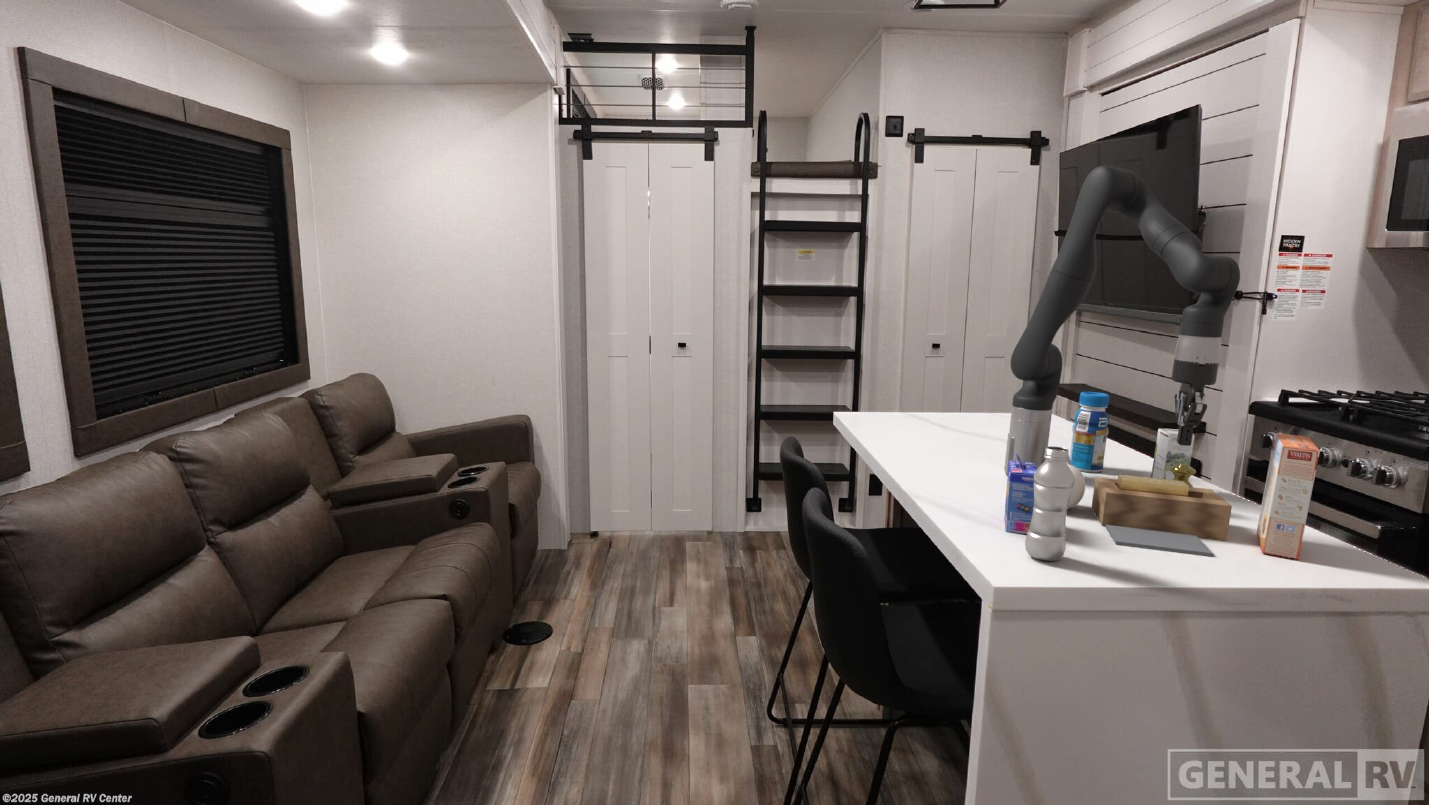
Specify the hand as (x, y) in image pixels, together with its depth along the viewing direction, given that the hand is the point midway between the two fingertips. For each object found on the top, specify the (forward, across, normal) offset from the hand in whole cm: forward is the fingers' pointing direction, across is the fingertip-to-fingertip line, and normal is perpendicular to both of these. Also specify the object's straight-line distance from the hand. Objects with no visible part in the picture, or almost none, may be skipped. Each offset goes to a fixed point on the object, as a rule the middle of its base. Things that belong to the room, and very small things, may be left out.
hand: (1183, 444), depth 152 cm
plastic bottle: (+17, +30, -28) cm, 44 cm away
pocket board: (+17, 0, -3) cm, 17 cm away
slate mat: (+17, +12, -6) cm, 22 cm away
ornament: (+17, -3, -22) cm, 28 cm away
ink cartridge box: (+17, +13, -30) cm, 37 cm away
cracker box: (+17, +6, +16) cm, 25 cm away
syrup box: (+17, -30, +6) cm, 35 cm away
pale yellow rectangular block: (+14, 0, -4) cm, 15 cm away
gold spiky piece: (+17, -14, +4) cm, 23 cm away
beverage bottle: (+17, -43, -10) cm, 47 cm away
